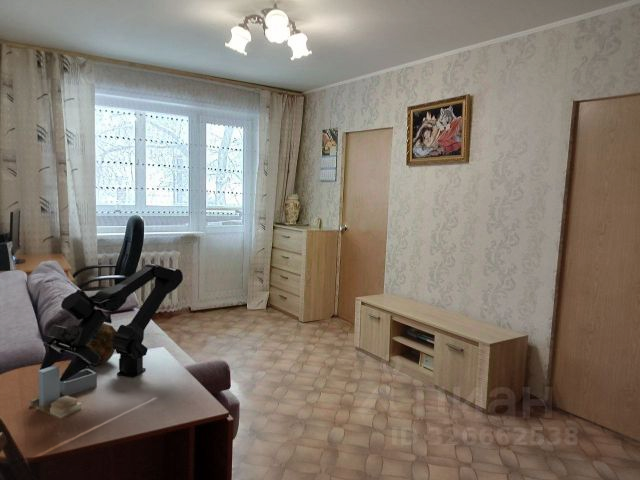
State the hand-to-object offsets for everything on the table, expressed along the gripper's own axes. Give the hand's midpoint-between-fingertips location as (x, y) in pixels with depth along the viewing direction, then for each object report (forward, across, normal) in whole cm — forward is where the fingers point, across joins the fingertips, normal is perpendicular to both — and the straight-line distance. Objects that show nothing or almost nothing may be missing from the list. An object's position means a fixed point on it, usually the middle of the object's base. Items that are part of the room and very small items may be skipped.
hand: (50, 376), depth 127 cm
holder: (-1, -2, +12) cm, 13 cm away
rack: (+6, +3, +6) cm, 9 cm away
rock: (-12, -16, +23) cm, 30 cm away
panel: (+6, 0, +5) cm, 8 cm away
